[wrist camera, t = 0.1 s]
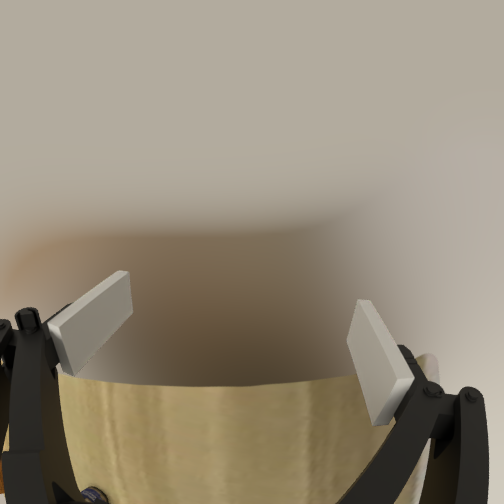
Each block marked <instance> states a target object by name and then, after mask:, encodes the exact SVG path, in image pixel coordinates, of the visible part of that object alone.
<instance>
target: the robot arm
mask: <svg viewBox="0 0 504 504" xmlns="http://www.w3.org/2000/svg"><path fill="white" fill-rule="evenodd" d="M132 313H133V308H132V298H131V288H130V276H129V272H126V271H119V270H118V271H117V272H115V273H114V274H113V275H111V276H110V277H108V278H107V279H105V280H104V281H103V282H101V283H100V284H98V285H97V286H96V287H94V288H93V289H92V290H90V291H89V292H87V293H86V294H85V295H83V296H82V297H81V298H79V299H78V300H76V301H75V302H73V303H70V304H68V305H66V306H65V307H63V308H62V309H61V311H58V312H57V313H56V314H54V315H53V316H51V317H50V318H49V319H47V320H46V321H45V322H44V323H42V324H41V320H40V317H39V313H38V310H37V309H36V308H32V307H30V308H29V307H27V308H23V309H21V310H19V311H18V312H17V313H16V314H15V319H16V322H17V326H18V328H19V330H15V329H12V326H11V323H10V321H9V320H6V319H0V462H1V463H2V475H3V484H4V492H5V498H6V504H109V503H107V502H105V501H103V500H100V499H98V498H96V500H95V502H94V503H93V502H86V501H85V499H84V497H83V496H82V494H81V492H80V491H79V489H78V486H77V483H76V480H75V476H74V473H73V469H72V465H71V461H70V457H69V452H68V447H67V443H66V437H65V432H64V426H63V419H62V412H61V405H60V396H59V385H58V372H57V369H56V365H57V364H58V363H59V362H60V364H61V367H62V370H63V372H66V373H68V374H70V375H72V376H76V374H77V373H78V372H79V371H80V370H81V369H82V368H83V366H84V365H85V364H86V363H87V362H88V361H89V360H90V359H91V358H92V356H93V355H94V354H95V353H96V352H97V351H98V350H99V349H100V348H101V346H102V345H103V344H104V343H105V342H106V341H107V340H108V339H109V338H110V337H111V336H112V335H113V333H114V332H115V331H116V330H117V329H118V328H119V327H120V326H121V325H122V324H123V323H124V322H125V321H126V320H127V318H128V317H129V316H130V315H131V314H132ZM347 344H348V347H349V350H350V353H351V356H352V359H353V362H354V366H355V369H356V372H357V375H358V378H359V382H360V385H361V388H362V392H363V395H364V398H365V402H366V405H367V409H368V412H369V416H370V420H371V423H372V426H379V425H388V424H389V423H390V421H391V419H392V418H393V416H394V417H395V420H396V424H395V425H394V427H393V428H392V430H391V431H390V433H389V434H388V436H387V437H386V439H385V441H384V442H383V444H382V445H381V447H380V448H379V450H378V451H377V453H376V454H375V455H374V457H373V458H372V460H371V461H370V462H369V464H368V465H367V466H366V468H365V469H364V470H363V472H362V473H361V474H360V476H359V477H358V478H357V479H356V481H355V482H354V483H353V484H352V486H351V487H350V488H349V489H348V490H347V491H346V493H345V494H344V495H343V496H342V497H341V498H340V499H339V501H338V502H337V503H336V504H394V502H395V501H396V499H397V497H398V496H399V494H400V493H401V491H402V489H403V488H404V486H405V484H406V482H407V481H408V479H409V477H410V475H411V473H412V471H413V470H414V468H415V466H416V464H417V462H418V460H419V458H420V456H421V454H422V452H423V450H424V447H425V445H426V443H427V441H428V439H429V438H431V444H430V451H429V458H428V464H427V470H426V475H425V480H424V485H423V489H422V493H421V497H420V501H419V504H487V501H488V486H489V446H488V431H487V420H486V412H485V404H484V398H483V395H482V394H481V393H480V391H478V390H477V389H475V388H473V387H464V388H462V389H461V390H460V392H459V394H458V395H452V394H445V393H444V390H443V389H442V388H441V386H440V385H438V384H436V383H435V382H431V381H428V380H427V378H426V377H425V375H424V373H423V371H422V370H421V368H420V366H419V365H418V364H417V361H416V359H414V356H413V355H412V353H411V351H410V350H409V349H408V348H406V347H405V346H404V345H396V343H395V341H394V339H393V338H392V336H391V334H390V333H389V331H388V329H387V327H386V326H385V324H384V322H383V321H382V319H381V317H380V316H379V314H378V313H377V311H376V309H375V307H374V306H373V304H372V303H371V301H370V300H360V299H358V300H357V304H356V308H355V312H354V316H353V319H352V323H351V326H350V330H349V333H348V337H347ZM1 358H2V360H3V365H1ZM8 424H9V451H3V446H4V441H5V436H6V432H7V428H8ZM2 451H3V453H2Z"/></svg>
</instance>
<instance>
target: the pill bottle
mask: <svg viewBox="0 0 504 504" xmlns="http://www.w3.org/2000/svg"><path fill="white" fill-rule="evenodd" d="M81 494H82V496H83V497H84V499H85V501H86V502H93V503H94V502H95V500H96V498H98V499H100V500H103V501H105V502H107V503H108V500H107V498H106V496H105V495H104V493H103V492H101V491H100V490H99V489H97V488H95V487H88V488H86V489H85V490H83V491H82V492H81Z"/></svg>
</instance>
